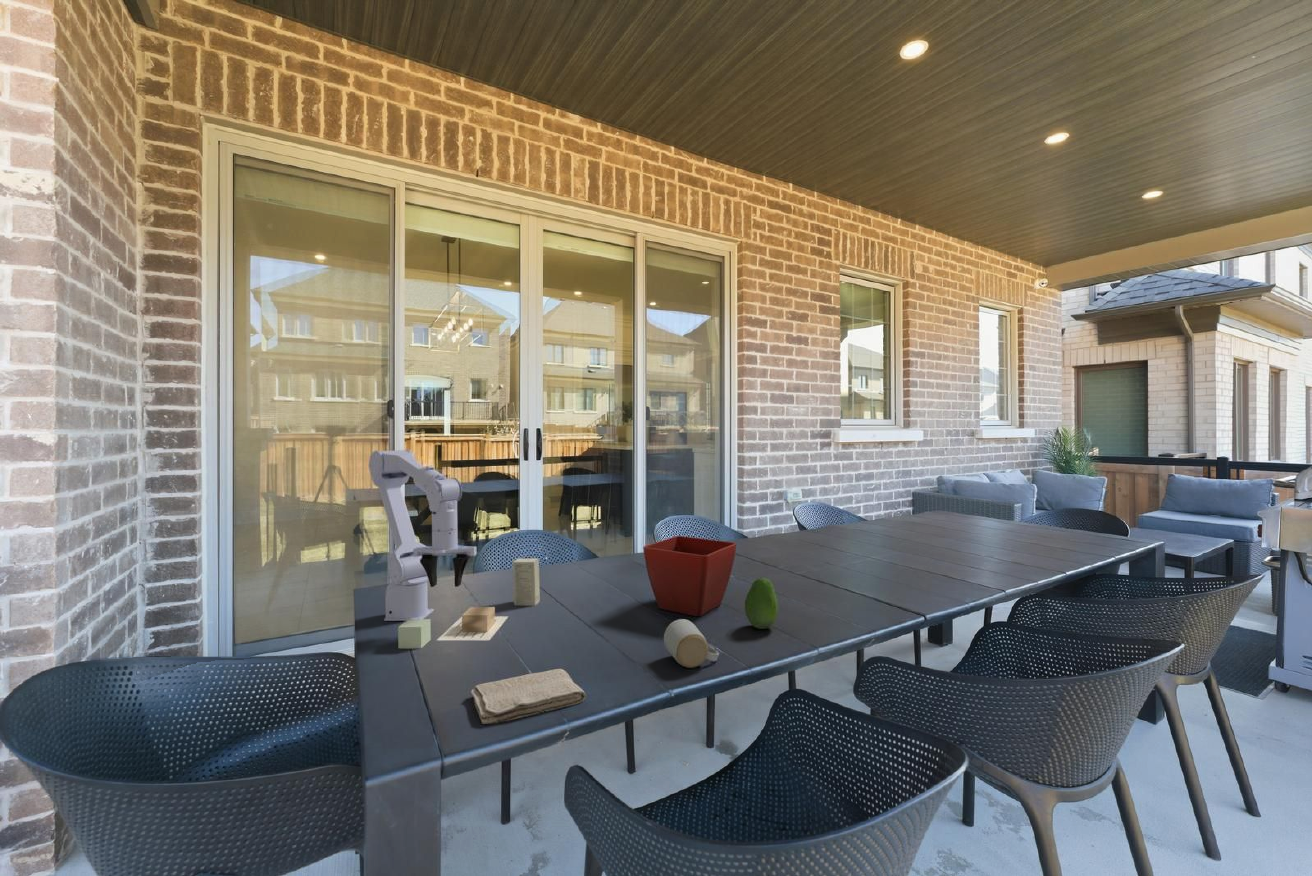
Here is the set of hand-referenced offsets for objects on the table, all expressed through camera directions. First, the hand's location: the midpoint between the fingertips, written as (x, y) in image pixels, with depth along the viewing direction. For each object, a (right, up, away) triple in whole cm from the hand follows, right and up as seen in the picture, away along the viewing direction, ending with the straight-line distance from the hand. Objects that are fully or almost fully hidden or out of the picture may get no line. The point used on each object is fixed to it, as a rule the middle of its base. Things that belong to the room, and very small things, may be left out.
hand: (445, 585), depth 133 cm
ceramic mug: (+58, -11, -19) cm, 62 cm away
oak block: (+8, -10, 0) cm, 13 cm away
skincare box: (+15, -10, +19) cm, 26 cm away
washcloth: (+28, -12, -35) cm, 46 cm away
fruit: (+76, -10, 0) cm, 77 cm away
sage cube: (-3, -11, -10) cm, 15 cm away
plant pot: (+60, -10, +16) cm, 63 cm away
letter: (+7, -10, 0) cm, 12 cm away
